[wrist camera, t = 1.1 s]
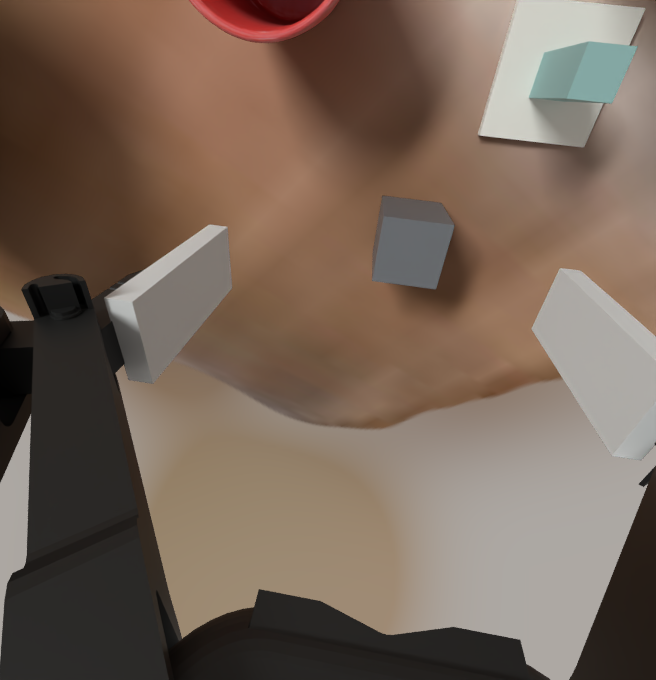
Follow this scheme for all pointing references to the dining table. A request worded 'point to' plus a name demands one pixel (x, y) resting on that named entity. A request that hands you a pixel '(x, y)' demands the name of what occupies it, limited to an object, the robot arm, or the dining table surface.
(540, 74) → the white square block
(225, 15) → the flower pot
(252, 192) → the dining table surface
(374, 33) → the dining table surface
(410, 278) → the grey rectangular block
